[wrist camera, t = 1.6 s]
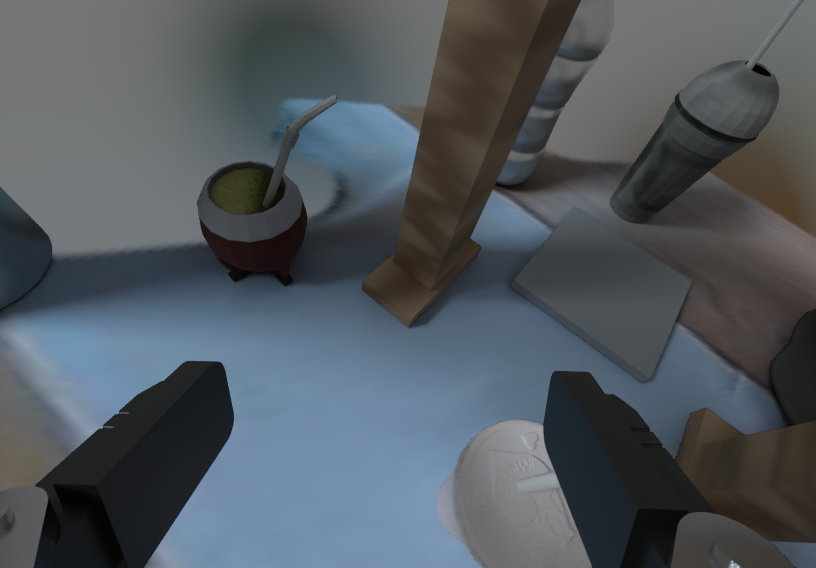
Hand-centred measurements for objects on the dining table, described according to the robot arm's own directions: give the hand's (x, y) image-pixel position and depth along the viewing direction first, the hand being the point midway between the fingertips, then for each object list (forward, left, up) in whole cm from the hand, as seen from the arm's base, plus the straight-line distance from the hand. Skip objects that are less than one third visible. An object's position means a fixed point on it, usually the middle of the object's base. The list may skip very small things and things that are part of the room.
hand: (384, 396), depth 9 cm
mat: (-1, +27, -17) cm, 32 cm away
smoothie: (+5, +5, -17) cm, 19 cm away
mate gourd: (-18, +3, -17) cm, 25 cm away
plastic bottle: (-17, +29, -17) cm, 37 cm away
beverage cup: (-6, +39, -17) cm, 43 cm away
